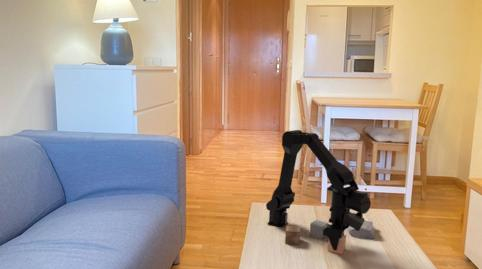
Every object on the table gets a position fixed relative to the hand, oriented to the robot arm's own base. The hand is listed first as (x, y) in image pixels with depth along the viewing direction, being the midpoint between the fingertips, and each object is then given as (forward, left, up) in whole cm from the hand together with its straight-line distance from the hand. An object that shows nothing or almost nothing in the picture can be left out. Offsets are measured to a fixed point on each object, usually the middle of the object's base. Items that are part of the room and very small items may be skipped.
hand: (336, 247), depth 144 cm
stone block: (+4, +20, -2) cm, 21 cm away
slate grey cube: (-9, +9, -1) cm, 13 cm away
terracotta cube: (0, 0, -1) cm, 1 cm away
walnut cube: (-16, -1, -1) cm, 16 cm away
